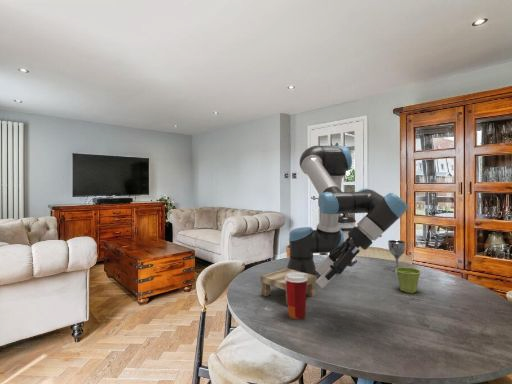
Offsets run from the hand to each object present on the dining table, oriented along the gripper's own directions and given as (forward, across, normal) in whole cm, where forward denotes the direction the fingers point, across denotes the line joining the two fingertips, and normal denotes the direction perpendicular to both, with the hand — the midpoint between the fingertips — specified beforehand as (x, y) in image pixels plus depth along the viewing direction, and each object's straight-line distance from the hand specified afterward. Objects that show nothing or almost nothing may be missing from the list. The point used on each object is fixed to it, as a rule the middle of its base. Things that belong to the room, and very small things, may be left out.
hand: (318, 278), depth 96 cm
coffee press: (-2, +72, -21) cm, 75 cm away
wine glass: (-19, +62, -39) cm, 76 cm away
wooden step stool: (+18, +19, -1) cm, 26 cm away
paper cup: (+15, +1, -4) cm, 16 cm away
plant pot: (-16, +31, -36) cm, 51 cm away
